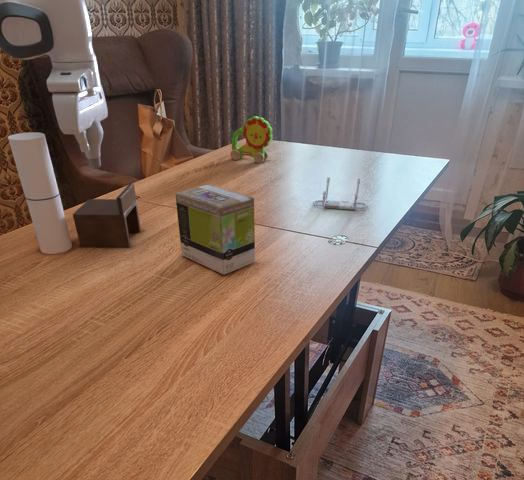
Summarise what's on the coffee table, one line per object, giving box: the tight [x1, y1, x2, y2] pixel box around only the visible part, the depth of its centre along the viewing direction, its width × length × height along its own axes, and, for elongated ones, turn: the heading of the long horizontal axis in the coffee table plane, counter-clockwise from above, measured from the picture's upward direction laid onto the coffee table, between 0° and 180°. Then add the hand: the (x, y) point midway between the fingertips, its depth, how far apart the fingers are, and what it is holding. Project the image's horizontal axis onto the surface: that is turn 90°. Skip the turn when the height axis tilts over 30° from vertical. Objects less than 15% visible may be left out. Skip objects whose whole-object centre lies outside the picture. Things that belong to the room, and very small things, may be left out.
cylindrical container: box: [7, 131, 73, 255], centre depth 108 cm, size 7×7×25 cm
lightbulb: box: [84, 120, 104, 170], centre depth 107 cm, size 6×6×11 cm
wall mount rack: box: [312, 176, 368, 211], centre depth 138 cm, size 16×14×6 cm
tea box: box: [174, 183, 256, 276], centre depth 105 cm, size 15×10×15 cm
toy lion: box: [230, 115, 274, 164], centre depth 176 cm, size 16×6×15 cm, turn 66°
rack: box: [72, 182, 142, 249], centre depth 116 cm, size 12×11×12 cm
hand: (91, 147), depth 107 cm, fingers closed on lightbulb, 6 cm apart
